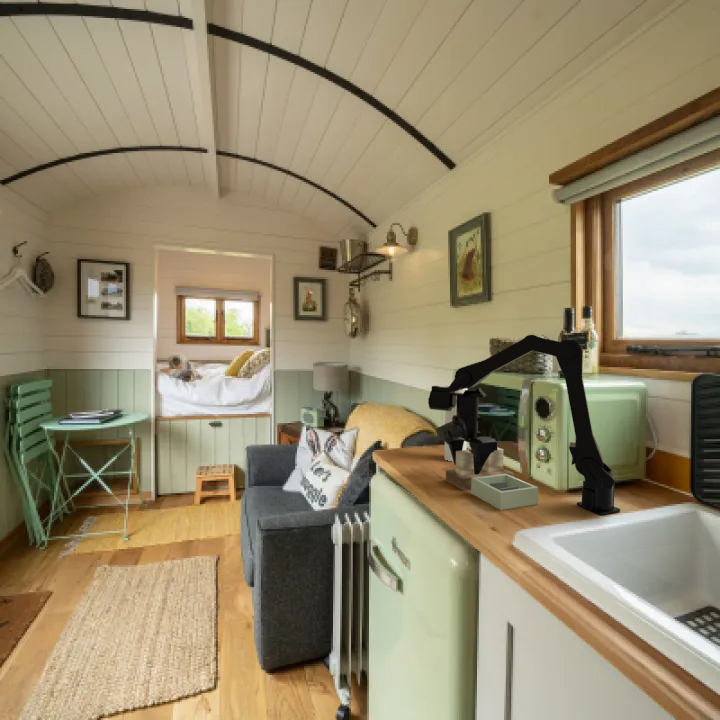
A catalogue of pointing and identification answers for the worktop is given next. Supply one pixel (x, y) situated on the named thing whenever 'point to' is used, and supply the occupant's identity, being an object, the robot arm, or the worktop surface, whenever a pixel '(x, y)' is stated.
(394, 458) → the worktop surface
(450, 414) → the cylindrical container
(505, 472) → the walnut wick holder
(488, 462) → the block
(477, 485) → the green open tray
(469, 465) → the block
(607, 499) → the robot arm
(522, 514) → the worktop surface
